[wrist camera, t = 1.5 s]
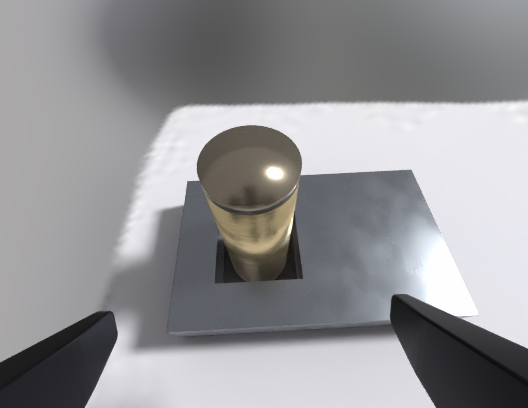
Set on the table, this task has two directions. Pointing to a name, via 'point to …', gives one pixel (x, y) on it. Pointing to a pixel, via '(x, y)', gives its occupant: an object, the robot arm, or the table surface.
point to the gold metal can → (252, 196)
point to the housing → (321, 261)
